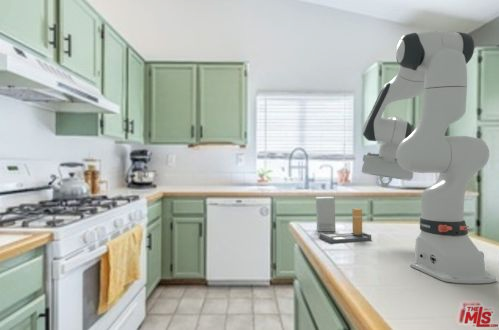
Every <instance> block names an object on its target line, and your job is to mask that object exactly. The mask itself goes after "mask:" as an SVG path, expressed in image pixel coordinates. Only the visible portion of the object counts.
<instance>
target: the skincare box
mask: <svg viewBox="0 0 499 330" xmlns="http://www.w3.org/2000/svg"><path fill="white" fill-rule="evenodd" d="M335 200H336V199H335V197H334V196H316V197H315V206H316V207H315V210H316V213H315V214H316V216H315V217H316V218H315V219H316V230H317V232H319V233H323V232H336V231H337V230H336V208H335V207H336V206H335V205H336V203H335Z"/></svg>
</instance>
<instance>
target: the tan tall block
mask: <svg viewBox="0 0 499 330" xmlns="http://www.w3.org/2000/svg"><path fill="white" fill-rule="evenodd" d="M351 210H352V211H351V212H352V217H351V218H352V232H350V233H351V234H353V235H355V236H359V235H364V234H363V233H362V232H363V209H362V208H352V209H351Z"/></svg>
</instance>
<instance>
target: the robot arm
mask: <svg viewBox="0 0 499 330" xmlns="http://www.w3.org/2000/svg"><path fill="white" fill-rule="evenodd" d="M474 52H475V41H474V39H473V37H472V36H471V34H469V33H465V32H460V31H457V32H447V31H446V32H445V31H425V32H418V33H417V32H411V33H407V34H405V35H403V36H402V37H401V38H400V39H399V40H398V42H397V46H396V51H395V55H396V56H395V57H396V58H395V59H396V62H397V63H398V64H399V67H398V71H397V74H396V75H395V77H393V79H392V80H390V81H389V82H386V83H384V85H383V86H382V89H381V90H380V91H379V94H378V96H377V98H376V101H375V103H374V105H373V107H372V109H371V111H370V113H369V115H368V116H367V118H366V120H365V121H364V123H363V127H362V136H364V138H365V139H366V140H367V141H370V142H381V143H380V146H379V150H378V153H374V152H373V153H372V152H366V153H365V154H363V157H362V162H363V164H362V166H361V172H362V174H365V175H372V176H376V177H379V178H378V179H379V182H380V188H386V189H388V188H389V184H390V183H392V181H393V179H395V180H396V179H397V180H402V181H407V182H408V181H412V180H413V177H414V173H418V174H419V173H420V174H424V173H426V174H428V173H429V174H434V173H437V174H438V173H439V174H438V178H437V180H436V182H435V183H434V184H432V185H429V186H427V187H426V188H425V189H424V190H423V191H422V193H421V195H420V198H421V201H420V202H421V207H420V208H421V211H420V212H421V216H420V219H419V230H420V233H419V235H418V236H417V237H416V238H415V248H414V261H411V262H410V267H411V268H413V269H416V270H417V271H420V272H423V273H425V274H426V275H430V276H431V277H433V278H436V279H438V280H441V281H443V282H447V283H454V284H472V285H474V284H491V283H495V282H497V277H496V276H495V275H494V274H491V273H490V272H489V271H487V270H486V265H485V264H486V262H485V253H484V252H483V251H482V250H481V251H480V250H479V249H478V248H477V246H476V245H475V243H474V242H473V241H472V239H471V238H470V237H469V235H468V234H469V230H470V229H469V225H467V223H466V220H465V218H464V215H465V214H464V213H465V212H464V211H465V210H464V208H465V207H464V206H465V196H466V191H467V188H468V186H469V184H470V182H471V180H472V179H473V177H474V176H475V175H476V174H477V173H478V172H479V171H480V170H482V169H483V168H484V167H485V166H486V165H487V164H488V162H489V159H490V149H489V146H488V145H487V143H486V141H484V140H483V139H482V138H479V137H473V136H468V135H446V132H447V129H448V128H449V127H450V126H451V124H454V123H456V122H457V121H459V120H461V118H463V117H464V115H465V114H466V110H467V109H466V108H467V92H468V69H467V64H468V63H469V61H471V60H472V58H473V55H474ZM421 94H423V99H422V108H421V115H420V118H419V121H418V123H417V124H416V127H415V128H414V130H413V127H412V125H411V124H410V123H409V121H408V120H407V121H406V120H404V118H402V117H398V116H391V117H388V118H387V117H382V115H383V114H384V111H385V110H386V107H387V106H388V105H390V104H391V103H394V102H398V101H403V100H409V99H413V98H416V97H418V96H420V95H421ZM412 130H413V131H412ZM383 178H388V179H387V180H388V182H384V180H383Z"/></svg>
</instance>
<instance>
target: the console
mask: <svg viewBox="0 0 499 330" xmlns="http://www.w3.org/2000/svg"><path fill="white" fill-rule="evenodd" d="M351 233H352V232H349V233H348V232H347V233H333V234H332V233H330V234H326V233H324V232H319V239H320V240H323V241H325V242H327V243H329V244H337V243H338V244H339V243H352V242H354V243H355V242H364V241H365V242H366V241H367V242H368V241H372V234H369V233H367V232H364V231H362V233H363V234H364V235H359V236H355V235H353V234H351Z"/></svg>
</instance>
